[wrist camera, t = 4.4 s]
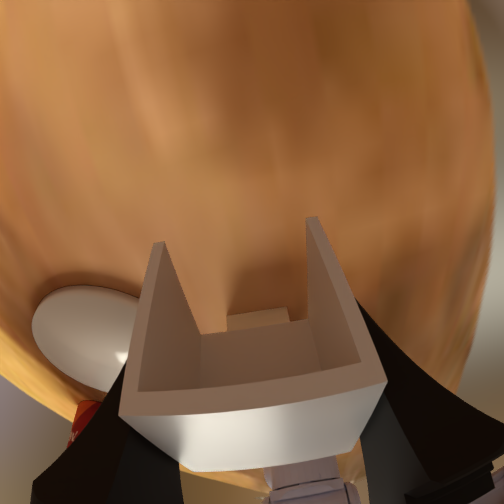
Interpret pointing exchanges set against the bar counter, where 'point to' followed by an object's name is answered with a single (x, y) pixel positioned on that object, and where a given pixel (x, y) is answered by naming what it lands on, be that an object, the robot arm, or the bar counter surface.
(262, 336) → the grey open box
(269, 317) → the maple block
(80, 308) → the ceramic dish
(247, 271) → the bar counter surface
